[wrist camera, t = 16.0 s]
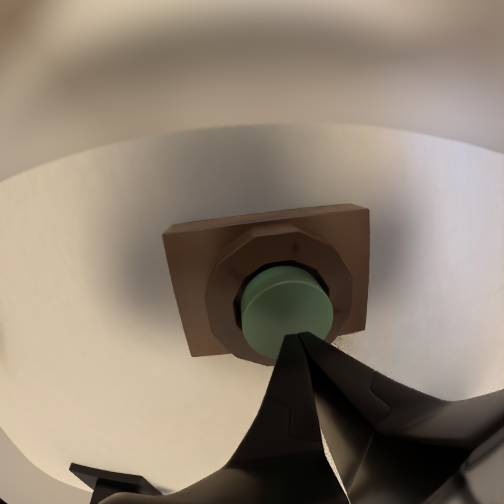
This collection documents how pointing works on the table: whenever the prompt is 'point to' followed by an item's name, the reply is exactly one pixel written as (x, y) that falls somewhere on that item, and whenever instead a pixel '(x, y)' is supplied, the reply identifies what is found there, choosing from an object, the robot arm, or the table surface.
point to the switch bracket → (112, 483)
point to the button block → (260, 259)
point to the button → (283, 308)
